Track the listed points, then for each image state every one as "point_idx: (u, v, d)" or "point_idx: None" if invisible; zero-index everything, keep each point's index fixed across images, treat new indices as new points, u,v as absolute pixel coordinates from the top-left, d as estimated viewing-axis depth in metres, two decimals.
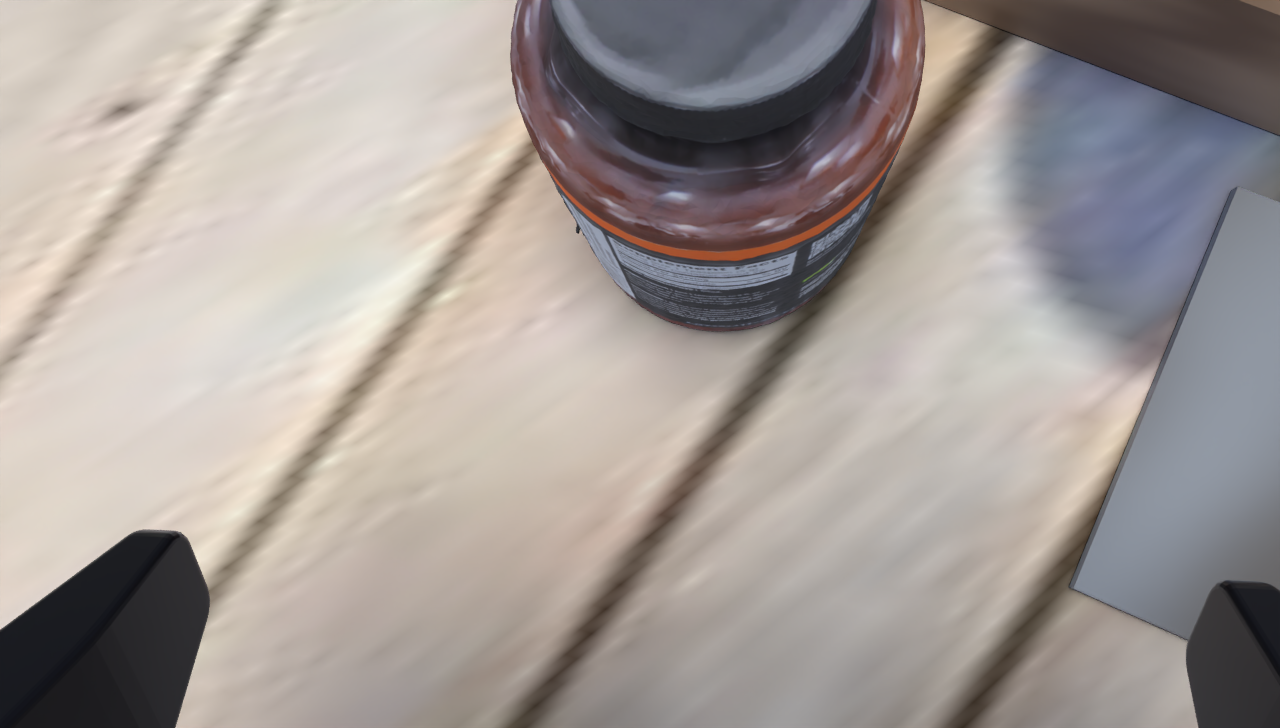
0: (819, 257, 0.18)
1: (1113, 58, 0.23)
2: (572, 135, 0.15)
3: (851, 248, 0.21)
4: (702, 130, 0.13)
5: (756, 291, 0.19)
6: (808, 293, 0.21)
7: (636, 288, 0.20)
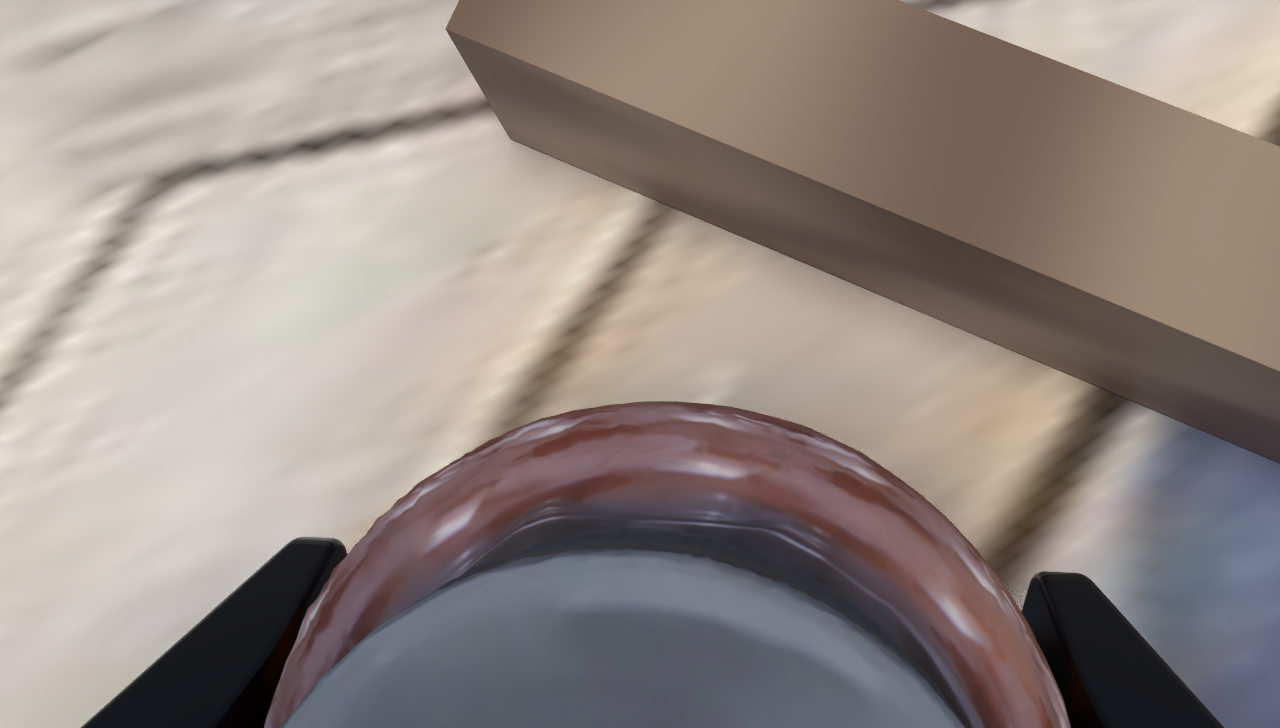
0: None
1: None
2: None
3: None
4: None
5: None
6: None
7: None
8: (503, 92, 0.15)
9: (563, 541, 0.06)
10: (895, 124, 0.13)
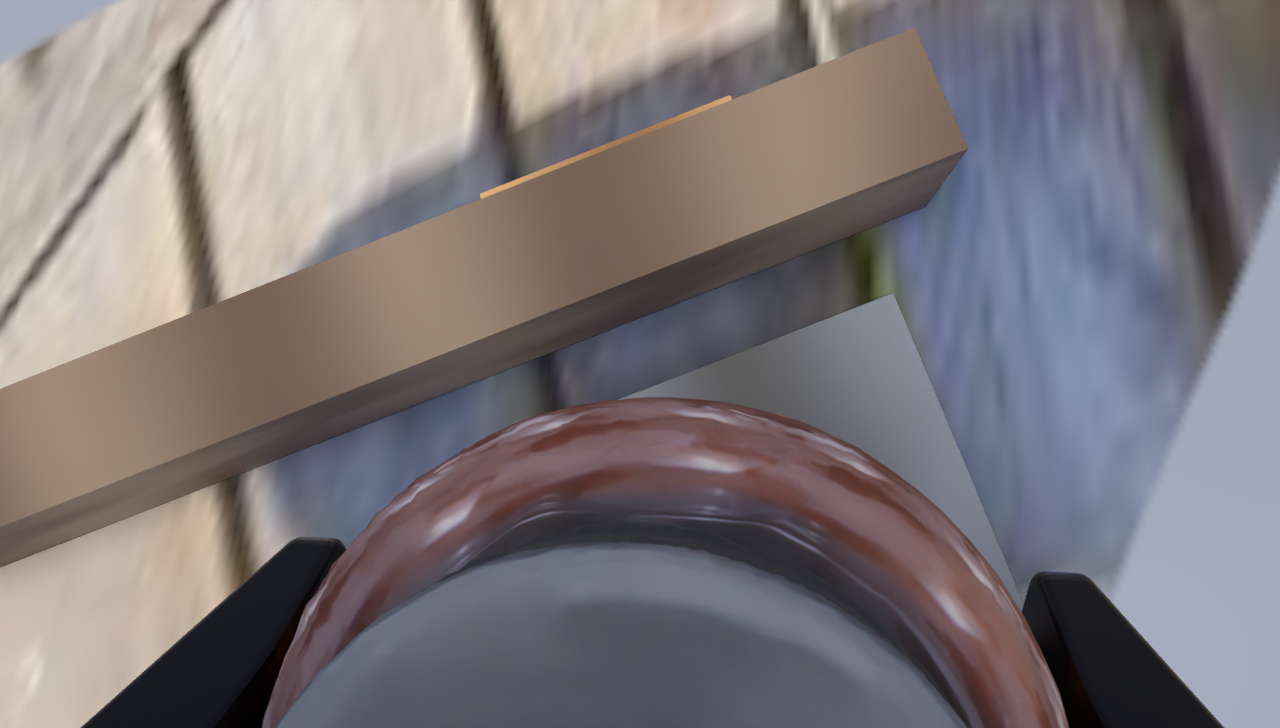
0: None
1: (318, 438, 0.23)
2: None
3: None
4: None
5: None
6: None
7: None
8: None
9: (560, 535, 0.06)
10: None
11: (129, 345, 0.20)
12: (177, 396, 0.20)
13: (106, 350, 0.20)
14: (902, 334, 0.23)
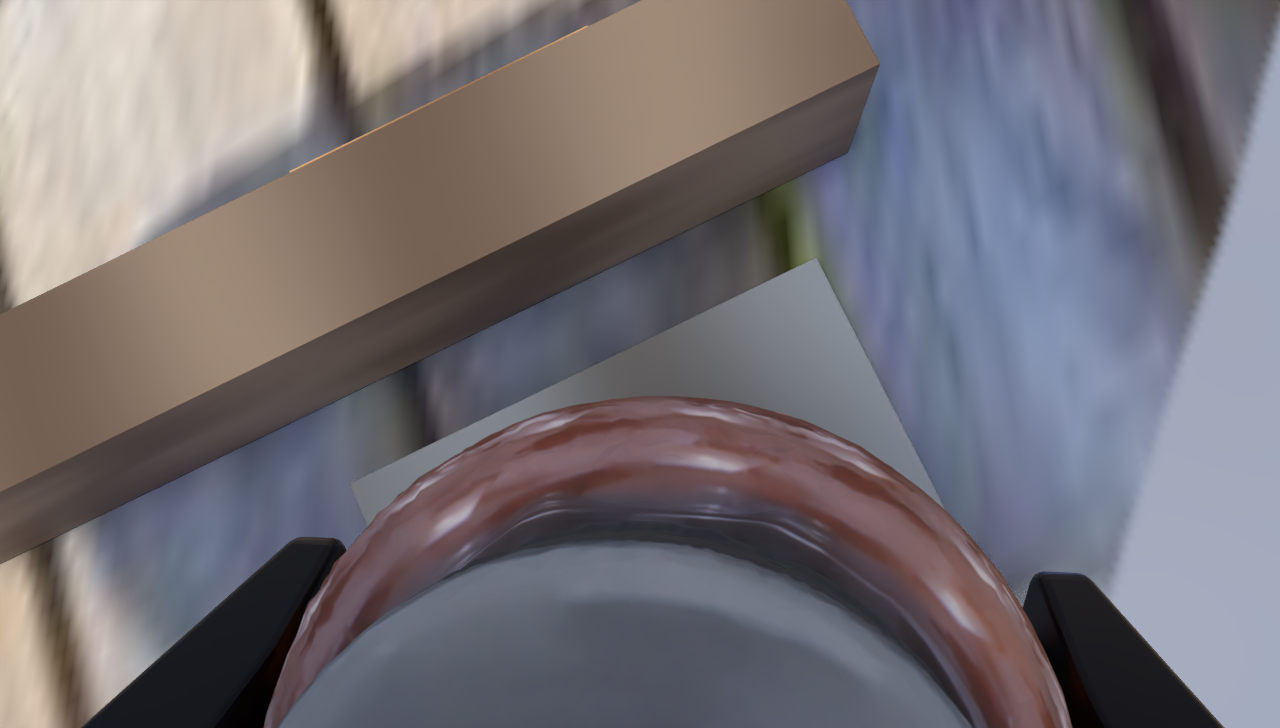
0: None
1: (139, 488, 0.19)
2: None
3: None
4: None
5: None
6: None
7: None
8: None
9: (563, 533, 0.06)
10: None
11: None
12: None
13: None
14: (831, 306, 0.19)
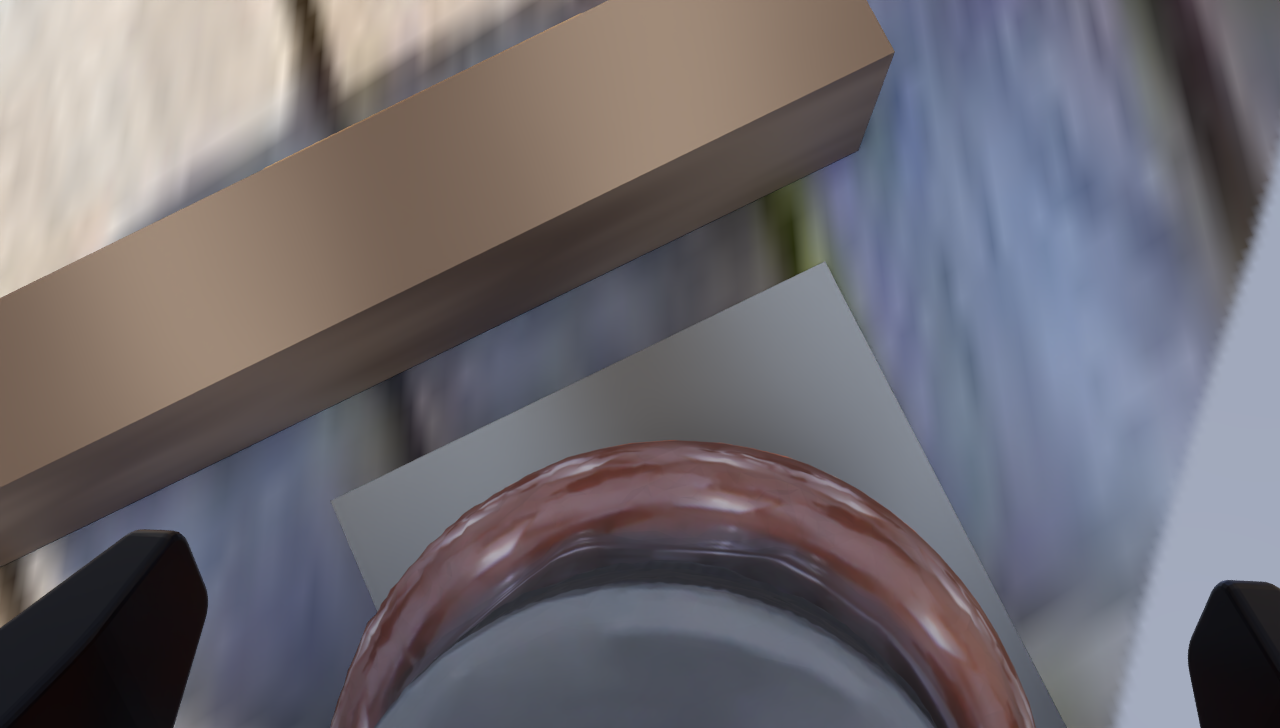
0: None
1: (108, 506, 0.18)
2: None
3: None
4: None
5: None
6: None
7: None
8: None
9: (599, 571, 0.07)
10: None
11: None
12: None
13: None
14: (841, 312, 0.18)
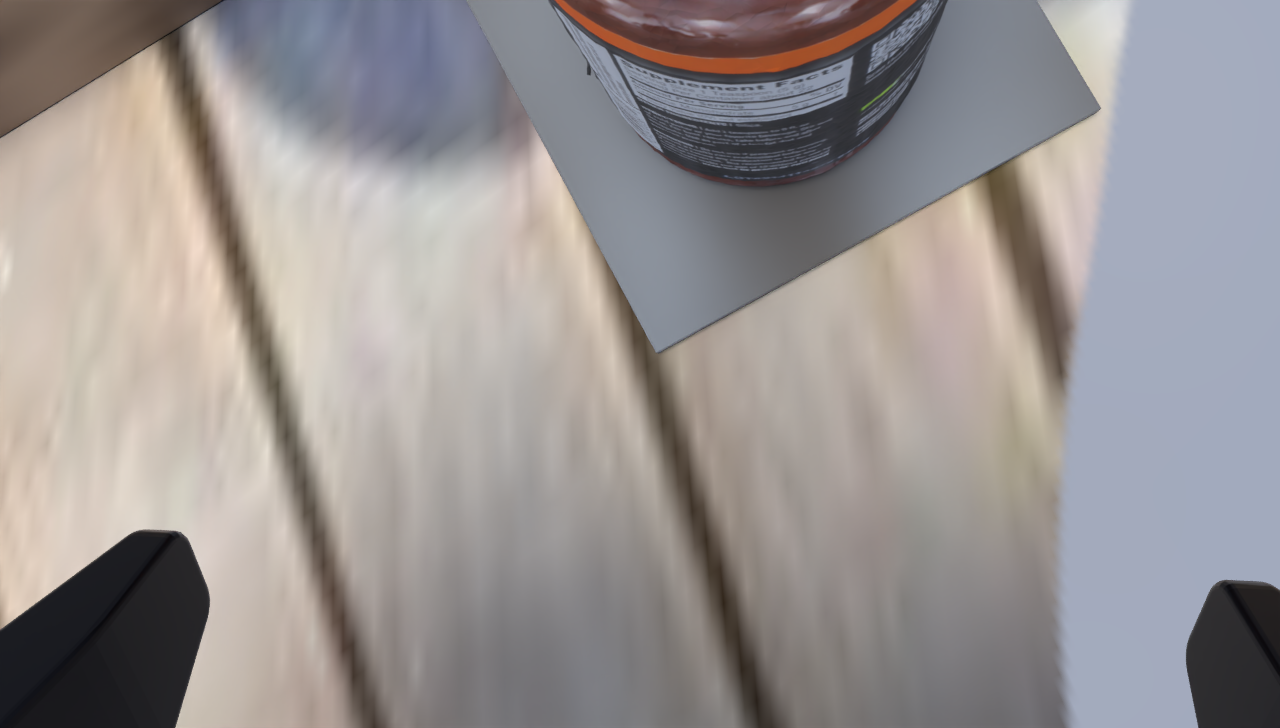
0: (881, 71, 0.14)
1: None
2: None
3: (918, 72, 0.18)
4: None
5: (804, 122, 0.15)
6: (868, 130, 0.18)
7: (661, 135, 0.17)
8: None
9: None
10: None
11: None
12: None
13: None
14: None
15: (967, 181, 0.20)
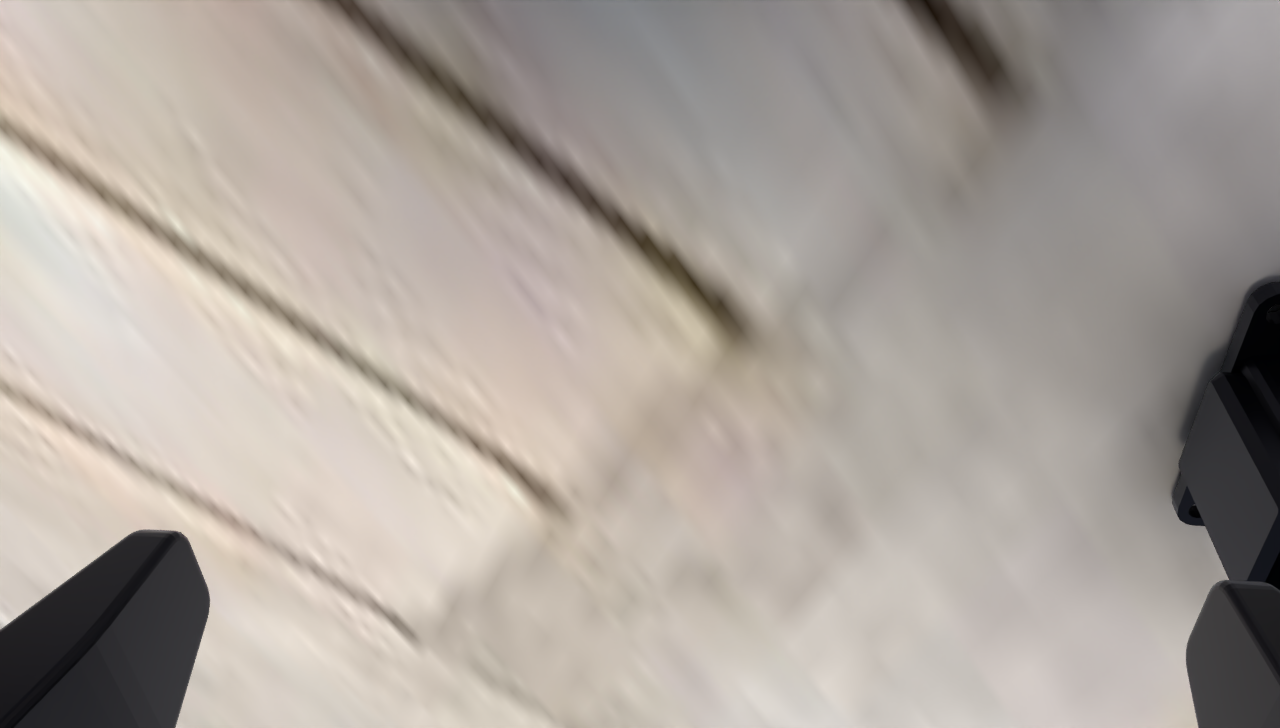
0: None
1: None
2: None
3: None
4: None
5: None
6: None
7: None
8: None
9: None
10: None
11: None
12: None
13: None
14: None
15: None
